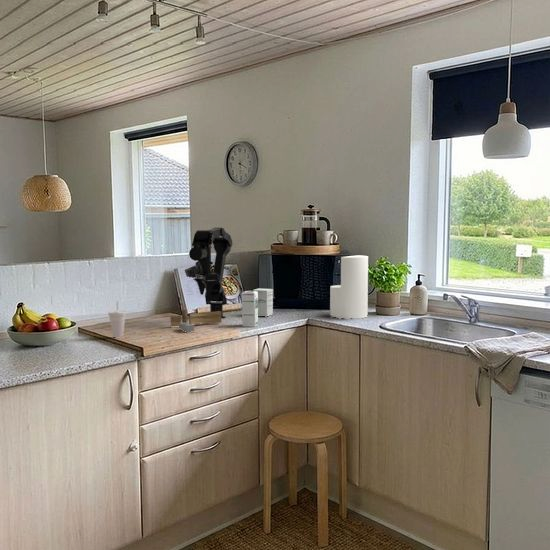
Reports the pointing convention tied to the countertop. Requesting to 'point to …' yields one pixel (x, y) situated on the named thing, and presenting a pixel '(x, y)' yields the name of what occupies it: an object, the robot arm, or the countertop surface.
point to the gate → (205, 317)
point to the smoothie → (117, 322)
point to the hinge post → (179, 318)
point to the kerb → (186, 326)
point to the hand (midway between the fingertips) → (204, 295)
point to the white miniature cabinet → (250, 308)
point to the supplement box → (265, 302)
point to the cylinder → (351, 289)
